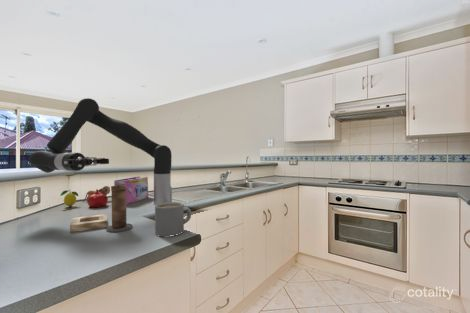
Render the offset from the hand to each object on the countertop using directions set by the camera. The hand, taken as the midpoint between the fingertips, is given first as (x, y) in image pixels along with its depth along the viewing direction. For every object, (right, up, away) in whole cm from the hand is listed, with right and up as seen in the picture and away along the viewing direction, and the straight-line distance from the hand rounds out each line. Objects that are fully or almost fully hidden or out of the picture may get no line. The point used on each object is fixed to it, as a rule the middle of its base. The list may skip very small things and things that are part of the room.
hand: (99, 161), depth 94 cm
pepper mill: (+9, -25, -3) cm, 27 cm away
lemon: (-36, -25, +35) cm, 56 cm away
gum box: (-9, -25, +52) cm, 59 cm away
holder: (-4, -26, +1) cm, 26 cm away
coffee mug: (+32, -26, -7) cm, 41 cm away
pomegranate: (-21, -25, +36) cm, 49 cm away
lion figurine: (-30, -25, +50) cm, 64 cm away
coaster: (+10, -25, -3) cm, 27 cm away
